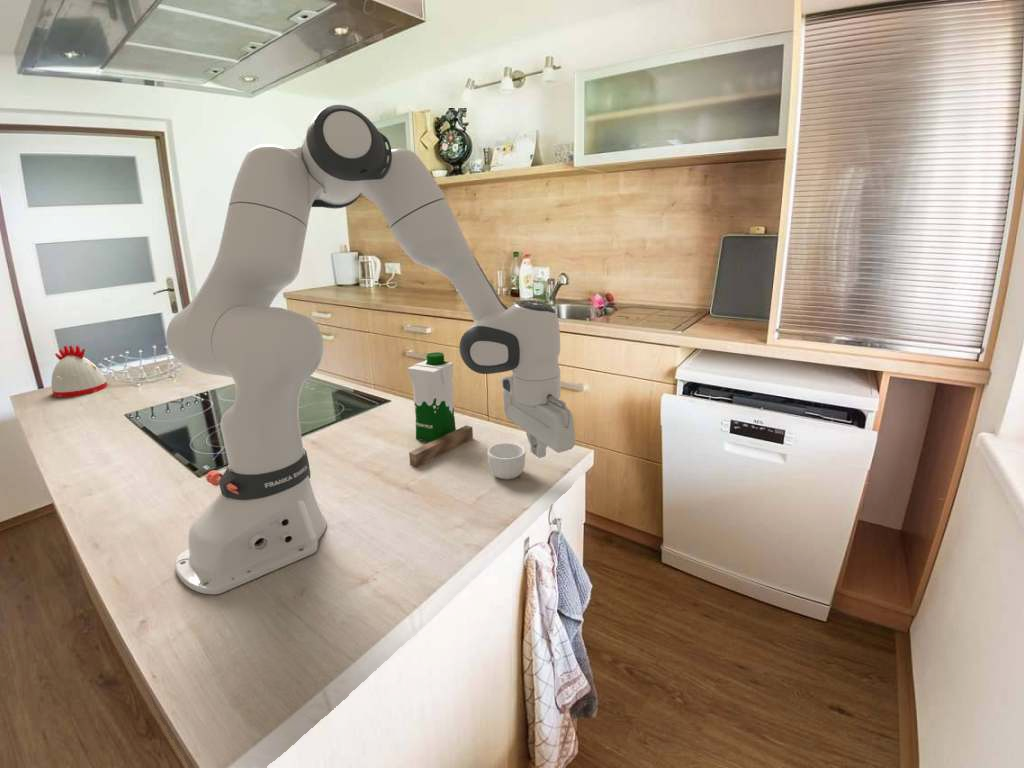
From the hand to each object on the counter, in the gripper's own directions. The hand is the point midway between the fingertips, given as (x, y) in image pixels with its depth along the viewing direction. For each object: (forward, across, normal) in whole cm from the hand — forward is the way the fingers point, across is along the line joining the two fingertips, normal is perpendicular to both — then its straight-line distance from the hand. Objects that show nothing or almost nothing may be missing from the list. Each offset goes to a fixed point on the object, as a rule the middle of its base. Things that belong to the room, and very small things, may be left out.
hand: (538, 454), depth 101 cm
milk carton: (+6, +32, +9) cm, 34 cm away
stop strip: (+6, +23, +11) cm, 26 cm away
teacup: (+6, +7, +4) cm, 10 cm away
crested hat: (+6, +131, +95) cm, 162 cm away
